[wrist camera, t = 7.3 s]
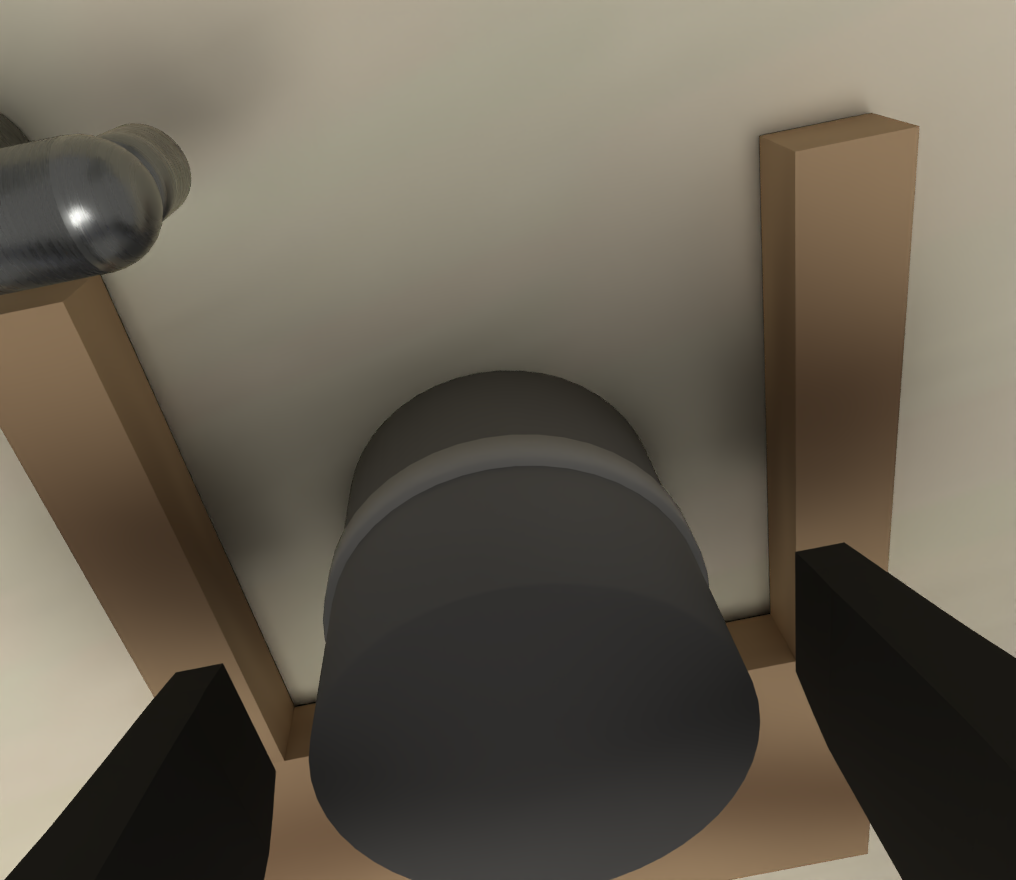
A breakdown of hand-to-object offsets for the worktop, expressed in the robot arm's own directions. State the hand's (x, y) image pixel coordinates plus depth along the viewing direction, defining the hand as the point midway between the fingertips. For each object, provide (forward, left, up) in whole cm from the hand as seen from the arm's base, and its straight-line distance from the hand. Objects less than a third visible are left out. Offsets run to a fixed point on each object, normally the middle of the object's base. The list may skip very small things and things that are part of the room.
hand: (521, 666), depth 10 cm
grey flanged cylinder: (0, 0, -4) cm, 4 cm away
